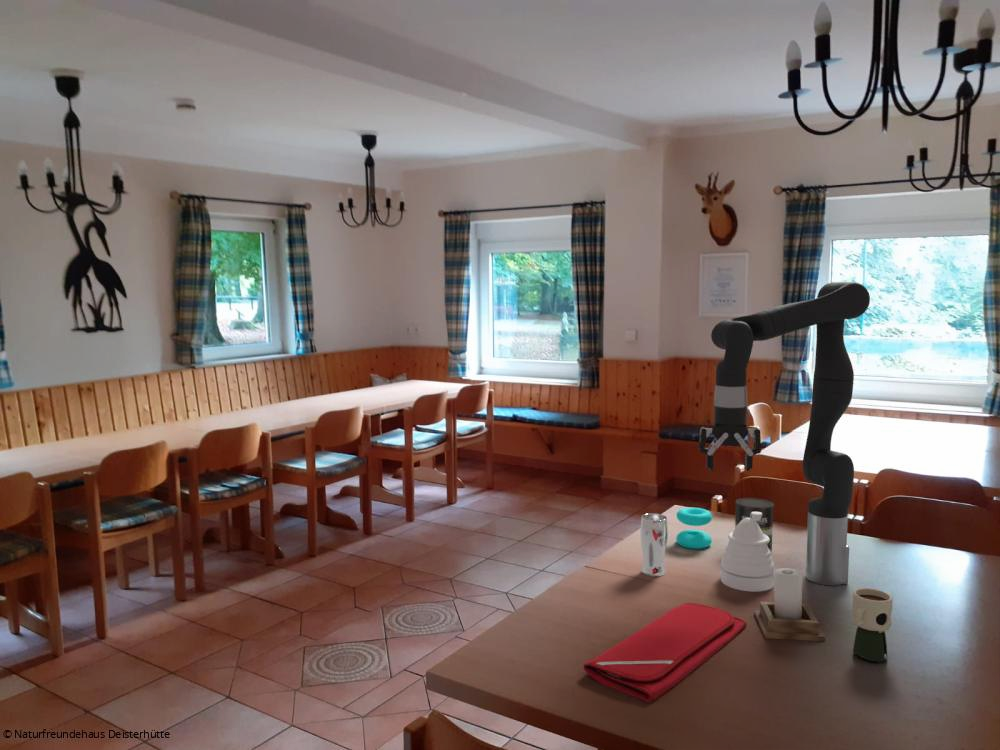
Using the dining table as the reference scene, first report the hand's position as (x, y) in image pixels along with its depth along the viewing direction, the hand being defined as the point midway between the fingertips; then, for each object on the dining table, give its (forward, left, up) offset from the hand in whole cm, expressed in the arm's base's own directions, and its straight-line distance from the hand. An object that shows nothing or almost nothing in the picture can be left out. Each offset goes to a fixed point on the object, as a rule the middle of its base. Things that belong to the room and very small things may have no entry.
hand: (729, 470), depth 183 cm
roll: (-10, +20, -29) cm, 36 cm away
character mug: (-23, +32, -30) cm, 50 cm away
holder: (-10, +20, -30) cm, 37 cm away
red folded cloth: (+16, +34, -31) cm, 49 cm away
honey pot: (-6, -6, -30) cm, 32 cm away
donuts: (+4, -34, -30) cm, 46 cm away
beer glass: (+17, -10, -30) cm, 36 cm away
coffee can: (-12, -30, -30) cm, 44 cm away
